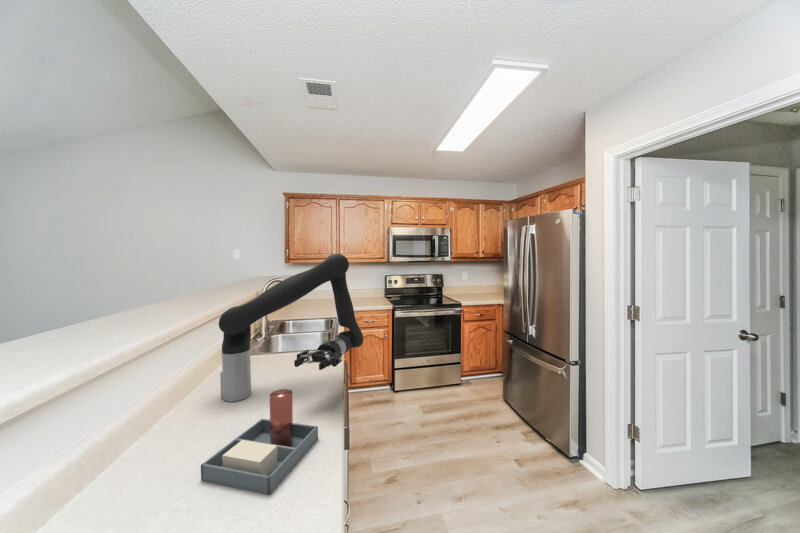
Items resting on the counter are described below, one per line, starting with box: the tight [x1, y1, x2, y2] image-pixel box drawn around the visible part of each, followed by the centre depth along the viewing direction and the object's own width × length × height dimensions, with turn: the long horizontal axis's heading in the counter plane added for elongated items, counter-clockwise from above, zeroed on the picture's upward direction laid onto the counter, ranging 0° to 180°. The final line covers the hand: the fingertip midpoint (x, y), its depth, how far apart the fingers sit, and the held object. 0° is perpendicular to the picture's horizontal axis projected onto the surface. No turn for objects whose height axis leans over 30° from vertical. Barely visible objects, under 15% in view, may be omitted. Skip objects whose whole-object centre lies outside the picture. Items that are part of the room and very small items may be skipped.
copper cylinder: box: [269, 388, 294, 447], centre depth 80 cm, size 6×6×14 cm
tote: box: [200, 418, 319, 496], centre depth 75 cm, size 18×20×4 cm
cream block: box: [222, 440, 278, 476], centre depth 70 cm, size 10×6×5 cm, turn 76°
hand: (307, 365), depth 93 cm, fingers open, 8 cm apart
